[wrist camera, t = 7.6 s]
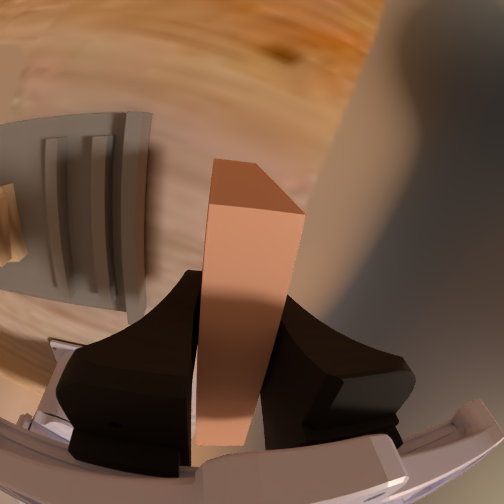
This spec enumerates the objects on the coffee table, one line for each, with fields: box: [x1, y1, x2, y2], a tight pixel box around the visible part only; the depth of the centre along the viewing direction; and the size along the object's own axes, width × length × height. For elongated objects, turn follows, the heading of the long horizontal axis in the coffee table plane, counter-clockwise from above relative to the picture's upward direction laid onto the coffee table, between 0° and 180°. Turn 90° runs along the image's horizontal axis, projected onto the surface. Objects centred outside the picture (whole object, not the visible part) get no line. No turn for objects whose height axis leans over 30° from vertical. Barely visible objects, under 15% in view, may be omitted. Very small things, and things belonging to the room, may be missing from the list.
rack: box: [0, 112, 152, 325], centre depth 16 cm, size 15×17×2 cm
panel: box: [196, 159, 306, 446], centre depth 11 cm, size 10×2×8 cm, turn 171°
